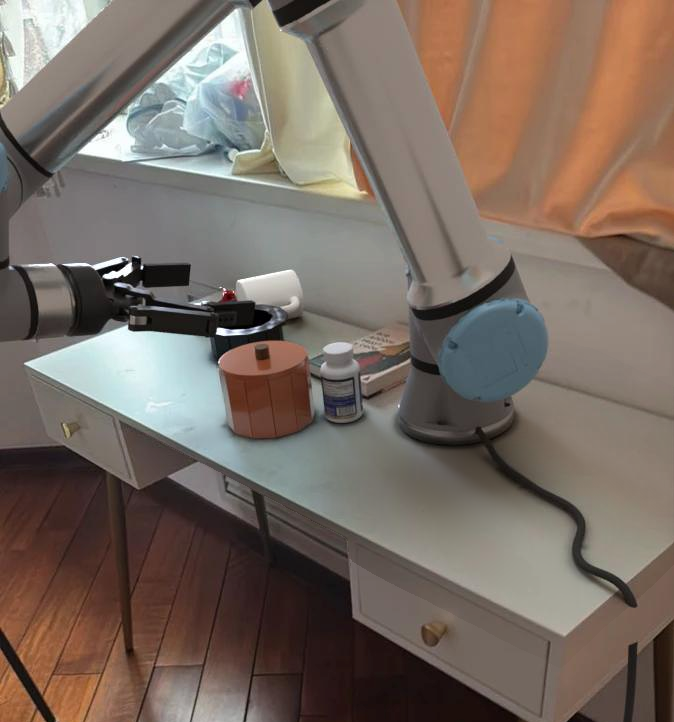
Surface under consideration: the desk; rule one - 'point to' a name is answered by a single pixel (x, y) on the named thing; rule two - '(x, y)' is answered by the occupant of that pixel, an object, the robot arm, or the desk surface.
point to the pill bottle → (341, 383)
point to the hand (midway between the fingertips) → (219, 292)
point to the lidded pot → (267, 389)
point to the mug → (273, 291)
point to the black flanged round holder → (251, 330)
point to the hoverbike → (227, 297)
